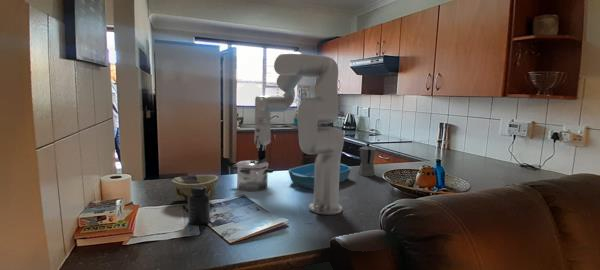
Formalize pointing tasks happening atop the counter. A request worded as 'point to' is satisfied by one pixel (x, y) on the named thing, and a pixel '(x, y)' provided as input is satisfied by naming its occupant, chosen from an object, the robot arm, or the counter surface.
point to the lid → (253, 164)
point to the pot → (252, 178)
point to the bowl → (194, 184)
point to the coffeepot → (367, 161)
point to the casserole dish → (306, 175)
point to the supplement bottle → (198, 206)
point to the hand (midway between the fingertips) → (261, 158)
